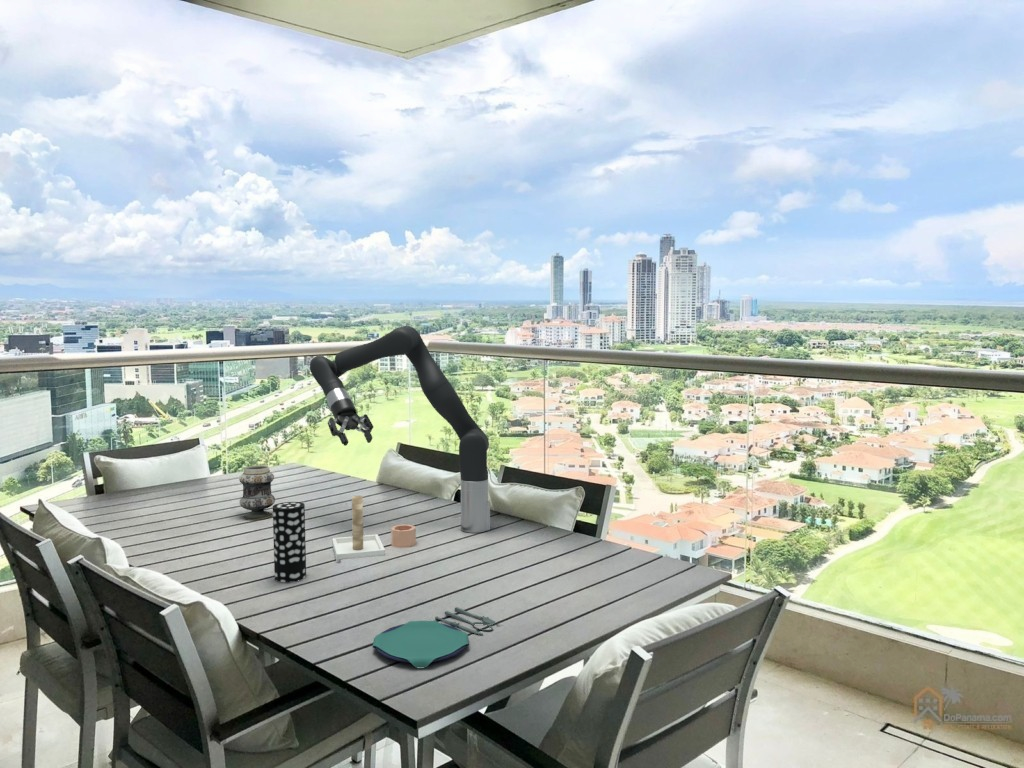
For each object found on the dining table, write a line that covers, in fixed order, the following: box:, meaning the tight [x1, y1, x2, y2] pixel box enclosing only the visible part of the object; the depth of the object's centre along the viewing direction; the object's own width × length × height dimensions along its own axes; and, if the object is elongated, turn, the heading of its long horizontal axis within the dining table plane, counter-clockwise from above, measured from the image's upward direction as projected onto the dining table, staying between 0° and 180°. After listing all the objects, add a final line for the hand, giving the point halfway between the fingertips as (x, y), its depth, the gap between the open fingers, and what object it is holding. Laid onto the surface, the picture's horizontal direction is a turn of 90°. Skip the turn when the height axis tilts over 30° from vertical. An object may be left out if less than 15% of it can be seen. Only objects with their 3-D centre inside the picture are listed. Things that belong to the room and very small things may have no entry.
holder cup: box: [390, 524, 417, 549], centre depth 229 cm, size 8×8×6 cm
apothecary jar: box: [238, 465, 276, 521], centre depth 265 cm, size 12×12×18 cm
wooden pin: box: [351, 495, 364, 550], centre depth 224 cm, size 3×3×16 cm
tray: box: [331, 534, 386, 564], centre depth 224 cm, size 14×17×2 cm
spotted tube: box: [272, 501, 307, 583], centre depth 202 cm, size 8×8×20 cm
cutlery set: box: [372, 606, 496, 668], centre depth 163 cm, size 20×30×2 cm, turn 141°
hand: (358, 442), depth 240 cm, fingers open, 8 cm apart
